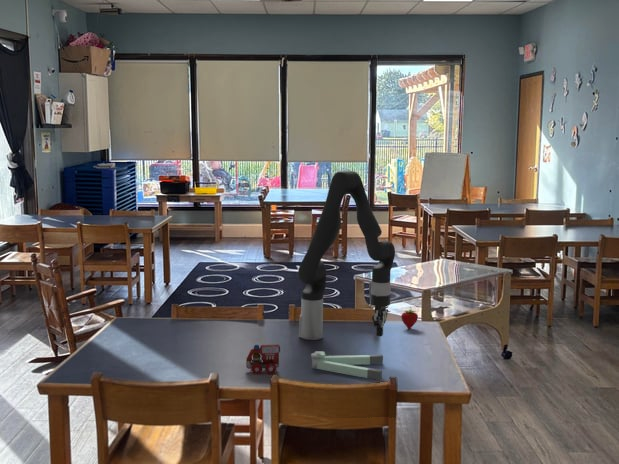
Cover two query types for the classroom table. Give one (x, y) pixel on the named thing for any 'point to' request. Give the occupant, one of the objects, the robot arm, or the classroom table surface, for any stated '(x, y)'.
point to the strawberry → (409, 318)
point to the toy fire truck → (263, 359)
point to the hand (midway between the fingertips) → (379, 335)
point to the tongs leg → (347, 369)
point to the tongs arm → (350, 358)
